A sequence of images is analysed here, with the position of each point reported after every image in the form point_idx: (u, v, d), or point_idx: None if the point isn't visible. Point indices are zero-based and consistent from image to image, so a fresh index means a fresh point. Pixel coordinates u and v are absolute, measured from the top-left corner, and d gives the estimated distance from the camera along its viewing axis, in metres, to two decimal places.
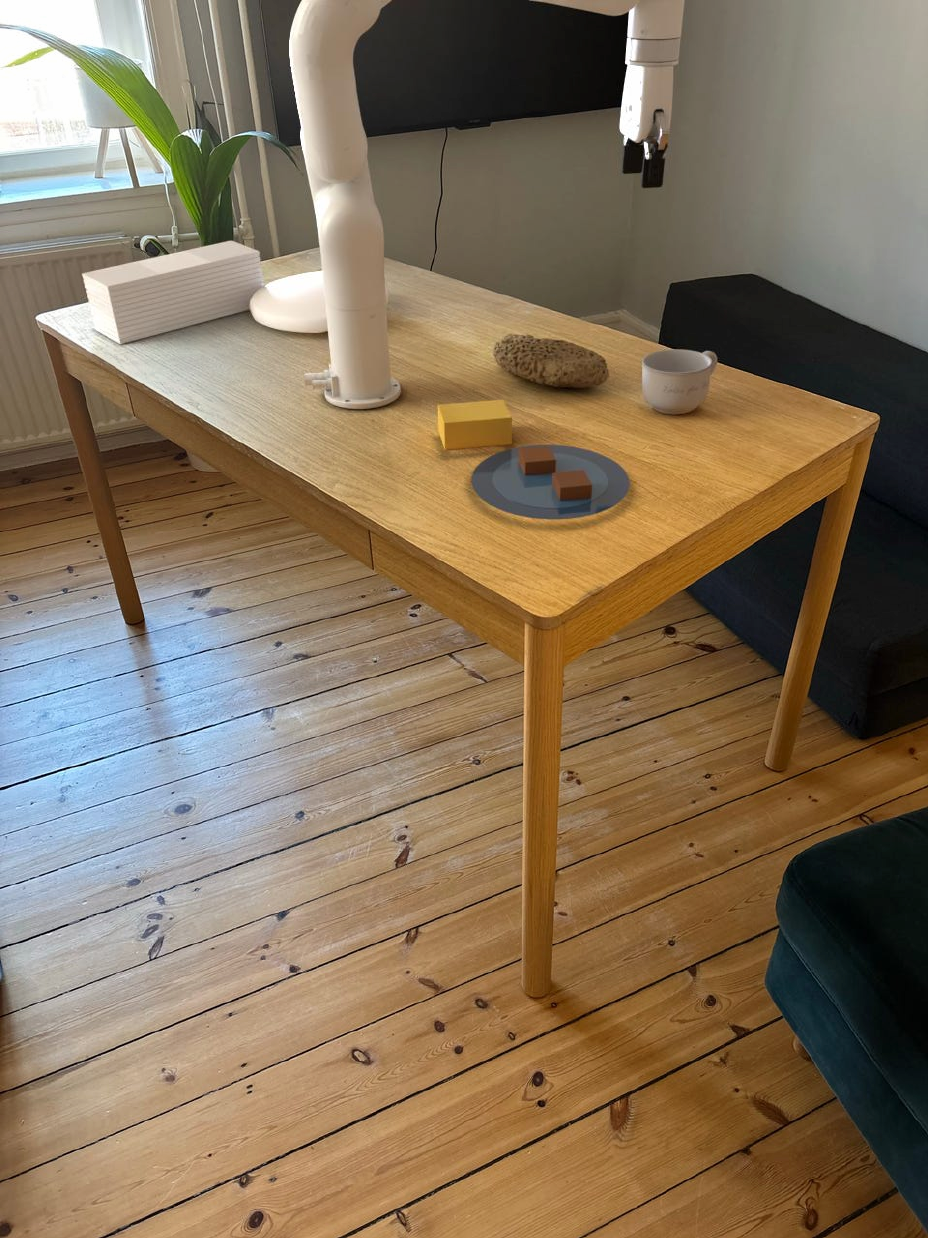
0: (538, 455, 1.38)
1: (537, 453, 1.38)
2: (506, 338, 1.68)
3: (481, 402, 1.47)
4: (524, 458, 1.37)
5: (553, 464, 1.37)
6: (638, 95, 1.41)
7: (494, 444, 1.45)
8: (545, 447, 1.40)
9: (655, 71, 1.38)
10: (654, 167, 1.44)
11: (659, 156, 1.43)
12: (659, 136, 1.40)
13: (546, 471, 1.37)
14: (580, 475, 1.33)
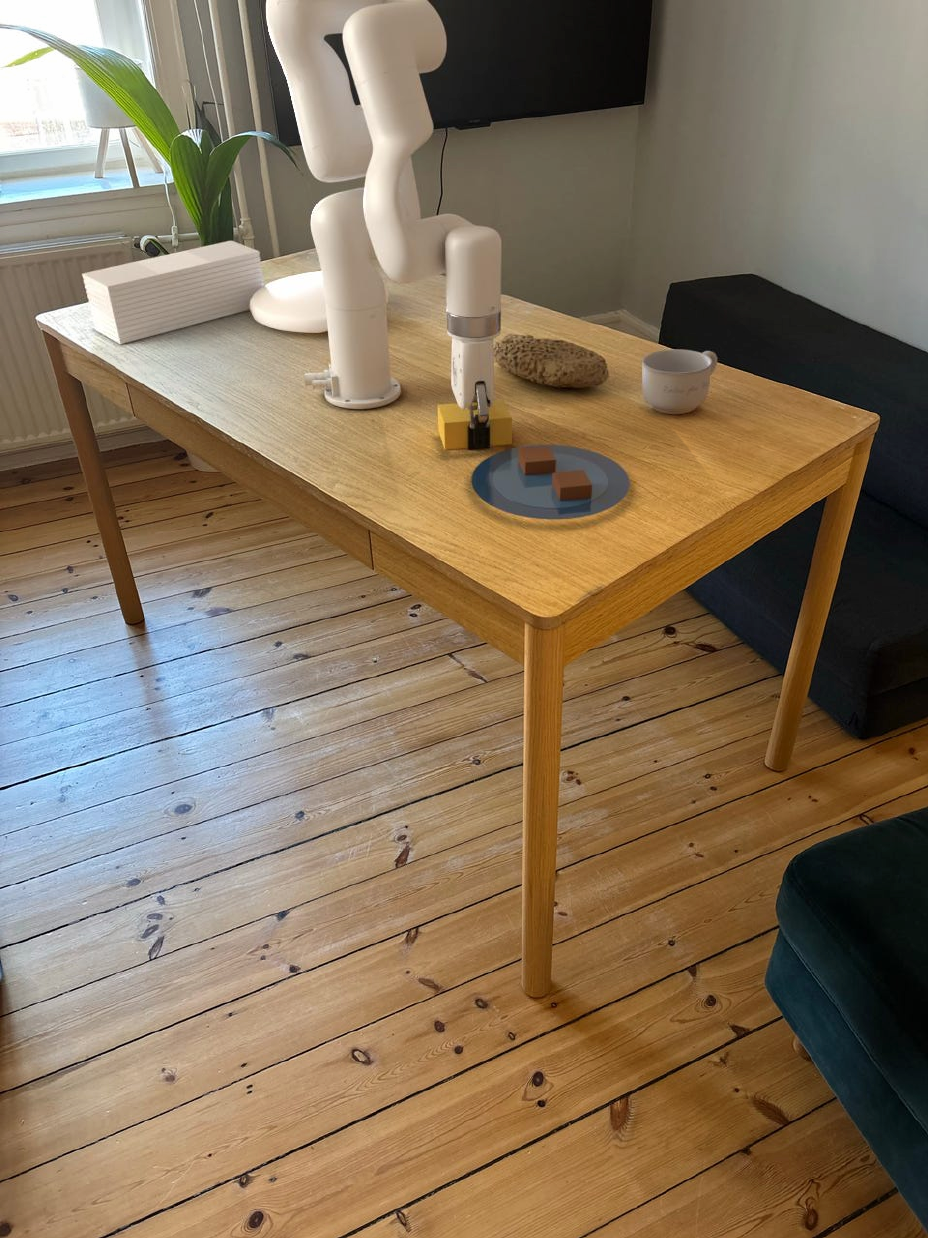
0: (538, 455, 1.38)
1: (537, 453, 1.38)
2: (506, 338, 1.68)
3: None
4: (524, 458, 1.37)
5: (553, 464, 1.37)
6: (459, 366, 1.37)
7: (494, 444, 1.45)
8: (545, 447, 1.40)
9: (473, 347, 1.34)
10: (479, 435, 1.42)
11: (482, 426, 1.41)
12: (478, 414, 1.37)
13: (546, 471, 1.37)
14: (580, 475, 1.33)
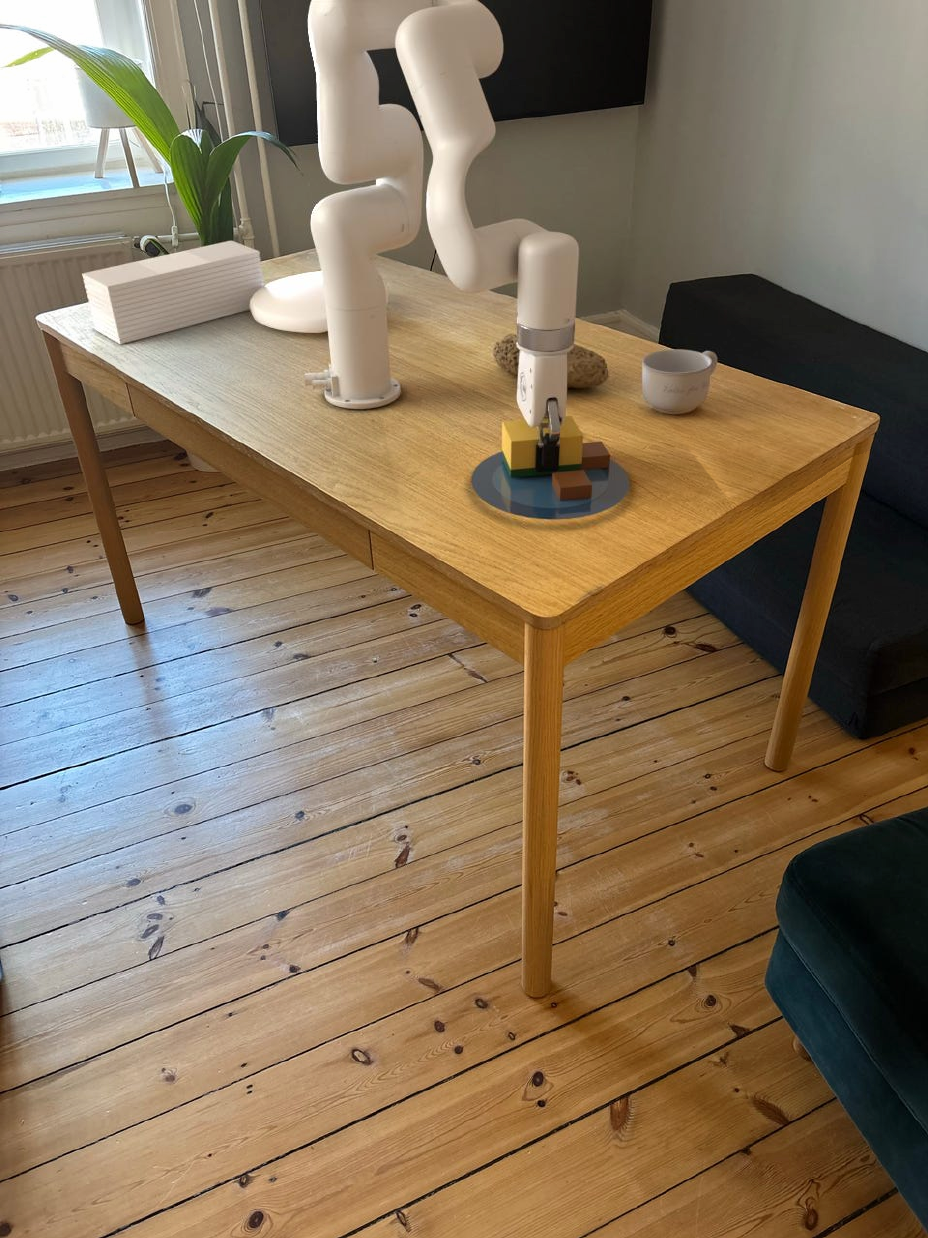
0: (592, 450, 1.39)
1: (591, 448, 1.39)
2: (506, 338, 1.68)
3: None
4: None
5: (607, 459, 1.38)
6: (529, 382, 1.28)
7: (563, 464, 1.36)
8: (598, 442, 1.40)
9: (546, 361, 1.25)
10: (548, 454, 1.33)
11: (552, 445, 1.32)
12: (550, 433, 1.29)
13: (600, 466, 1.38)
14: (580, 475, 1.33)
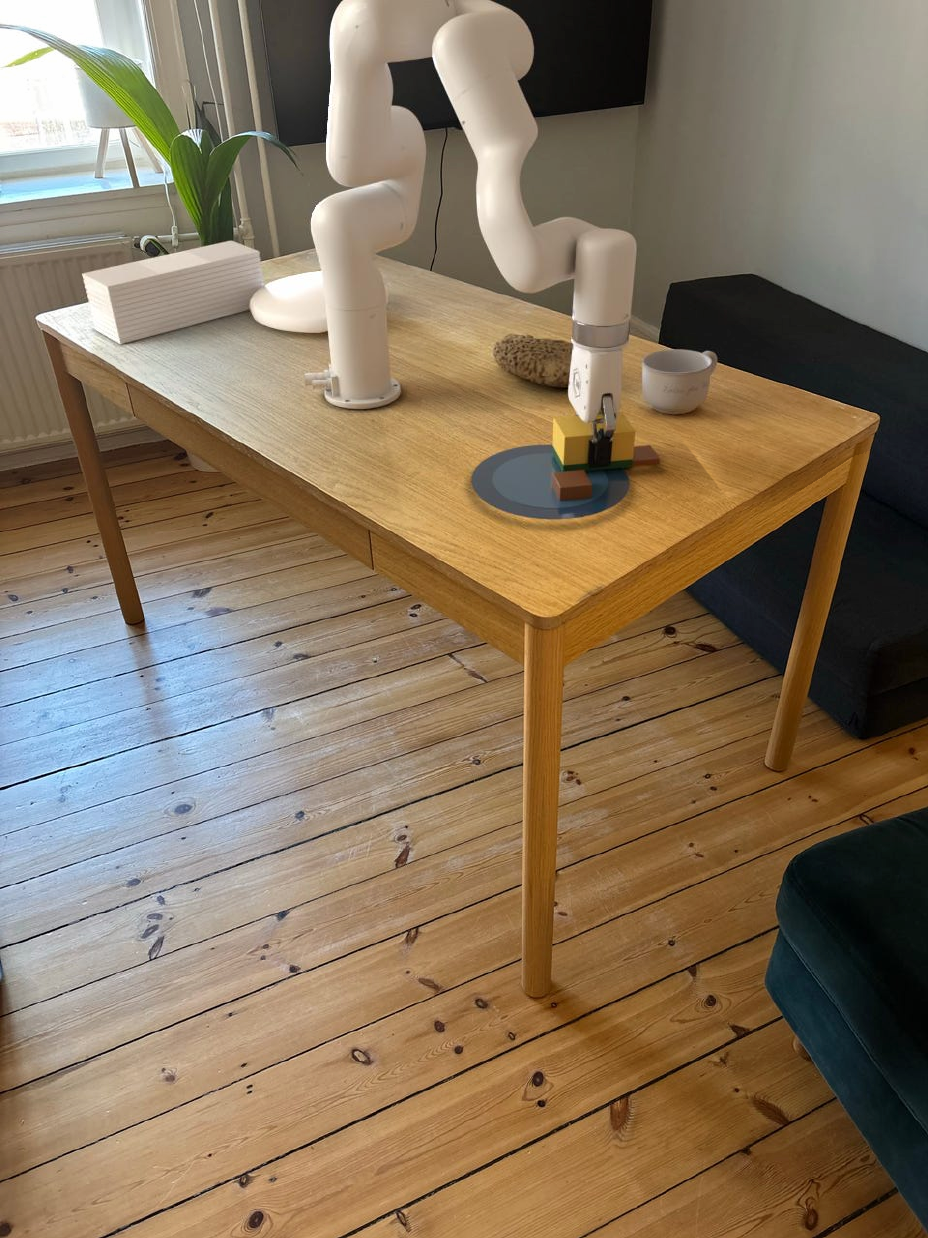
0: (641, 453, 1.40)
1: (641, 452, 1.41)
2: (506, 338, 1.68)
3: (600, 414, 1.39)
4: None
5: (657, 463, 1.39)
6: (585, 378, 1.29)
7: (615, 459, 1.37)
8: (647, 446, 1.42)
9: (602, 357, 1.26)
10: (601, 449, 1.34)
11: (605, 441, 1.33)
12: (605, 429, 1.29)
13: None
14: (580, 475, 1.33)
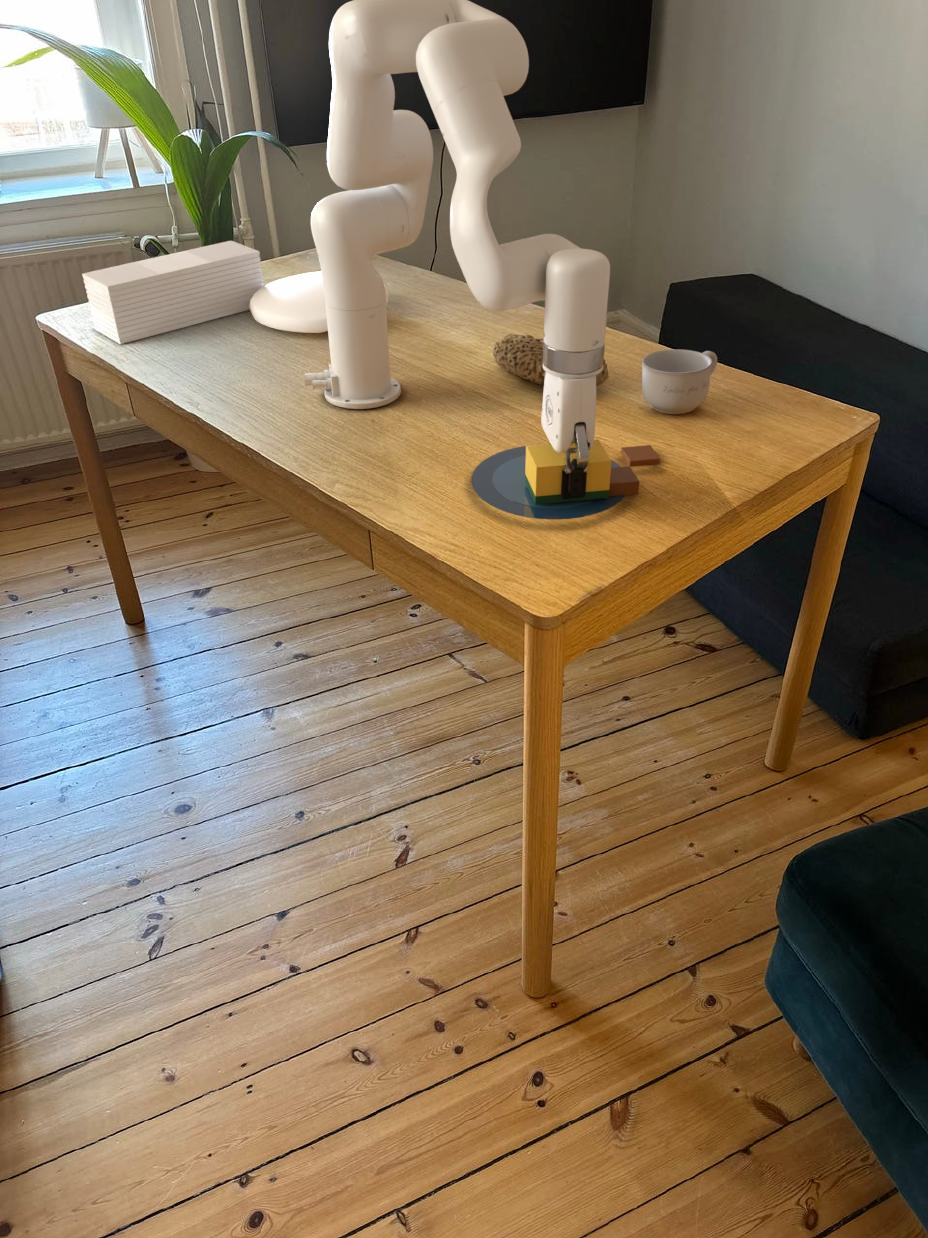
0: (641, 453, 1.40)
1: (641, 452, 1.41)
2: (506, 338, 1.68)
3: None
4: (628, 457, 1.39)
5: (657, 463, 1.39)
6: (556, 406, 1.22)
7: (590, 490, 1.30)
8: (647, 446, 1.42)
9: (574, 384, 1.19)
10: (575, 480, 1.27)
11: (579, 471, 1.26)
12: (578, 460, 1.22)
13: None
14: (627, 471, 1.33)
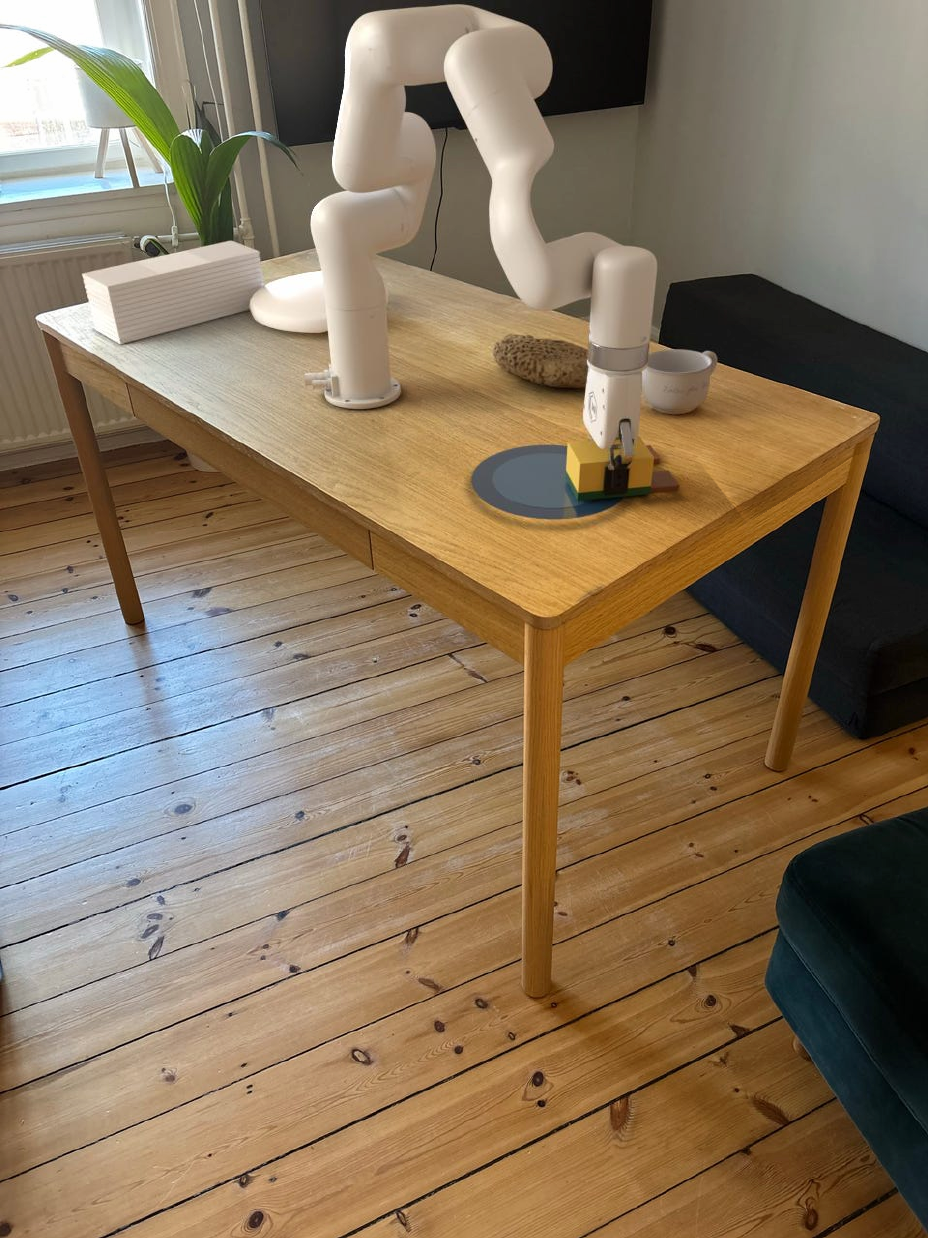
0: None
1: None
2: (506, 338, 1.68)
3: None
4: None
5: (657, 463, 1.39)
6: (601, 402, 1.22)
7: (632, 486, 1.30)
8: (647, 446, 1.42)
9: (620, 381, 1.20)
10: (618, 477, 1.28)
11: (623, 468, 1.26)
12: (622, 456, 1.23)
13: None
14: (666, 475, 1.35)
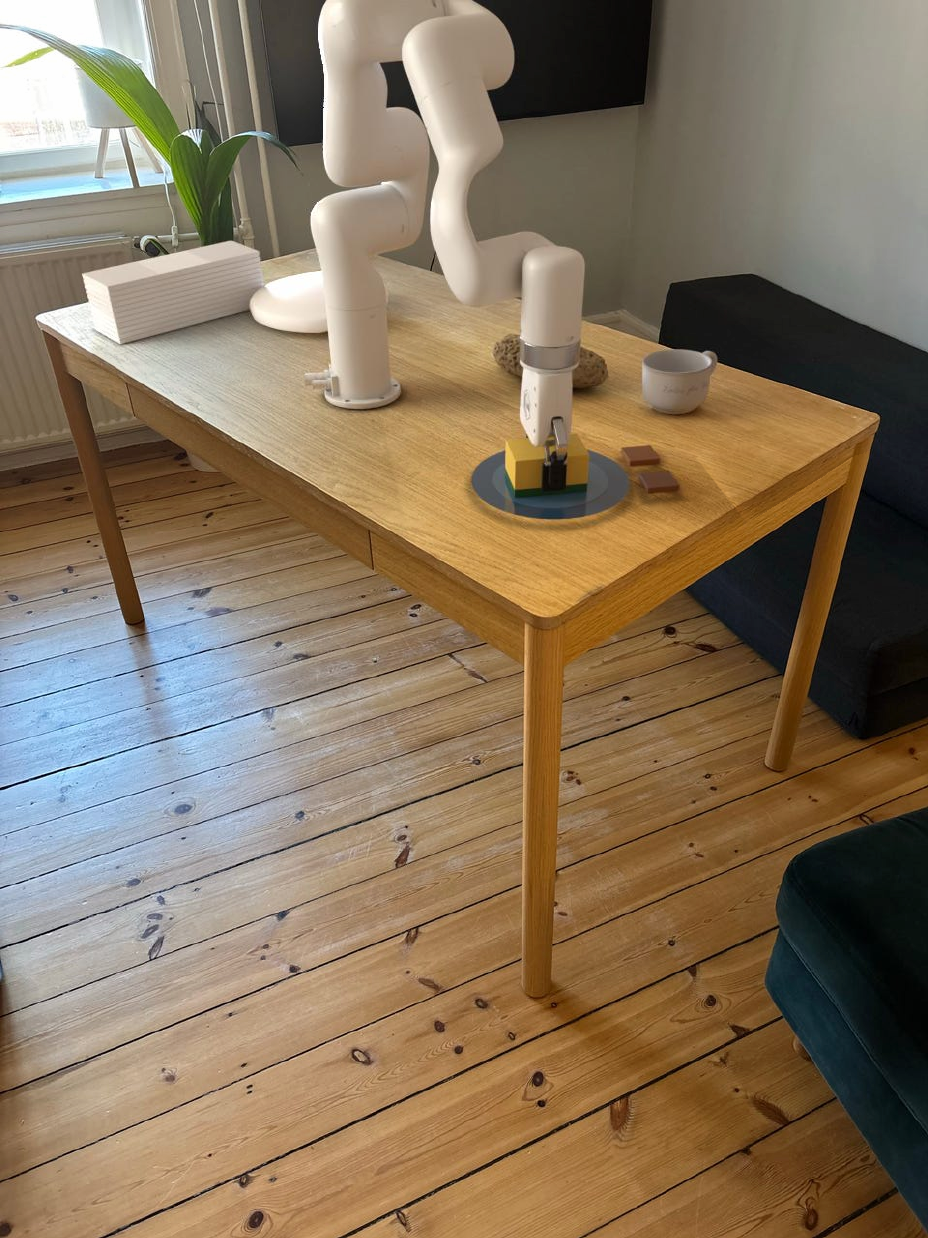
0: (641, 453, 1.40)
1: (641, 452, 1.41)
2: (506, 338, 1.68)
3: None
4: (628, 457, 1.39)
5: (657, 463, 1.39)
6: (533, 400, 1.24)
7: (568, 483, 1.32)
8: (647, 446, 1.42)
9: (551, 379, 1.21)
10: (555, 473, 1.28)
11: (559, 464, 1.27)
12: (557, 449, 1.23)
13: None
14: (666, 475, 1.35)
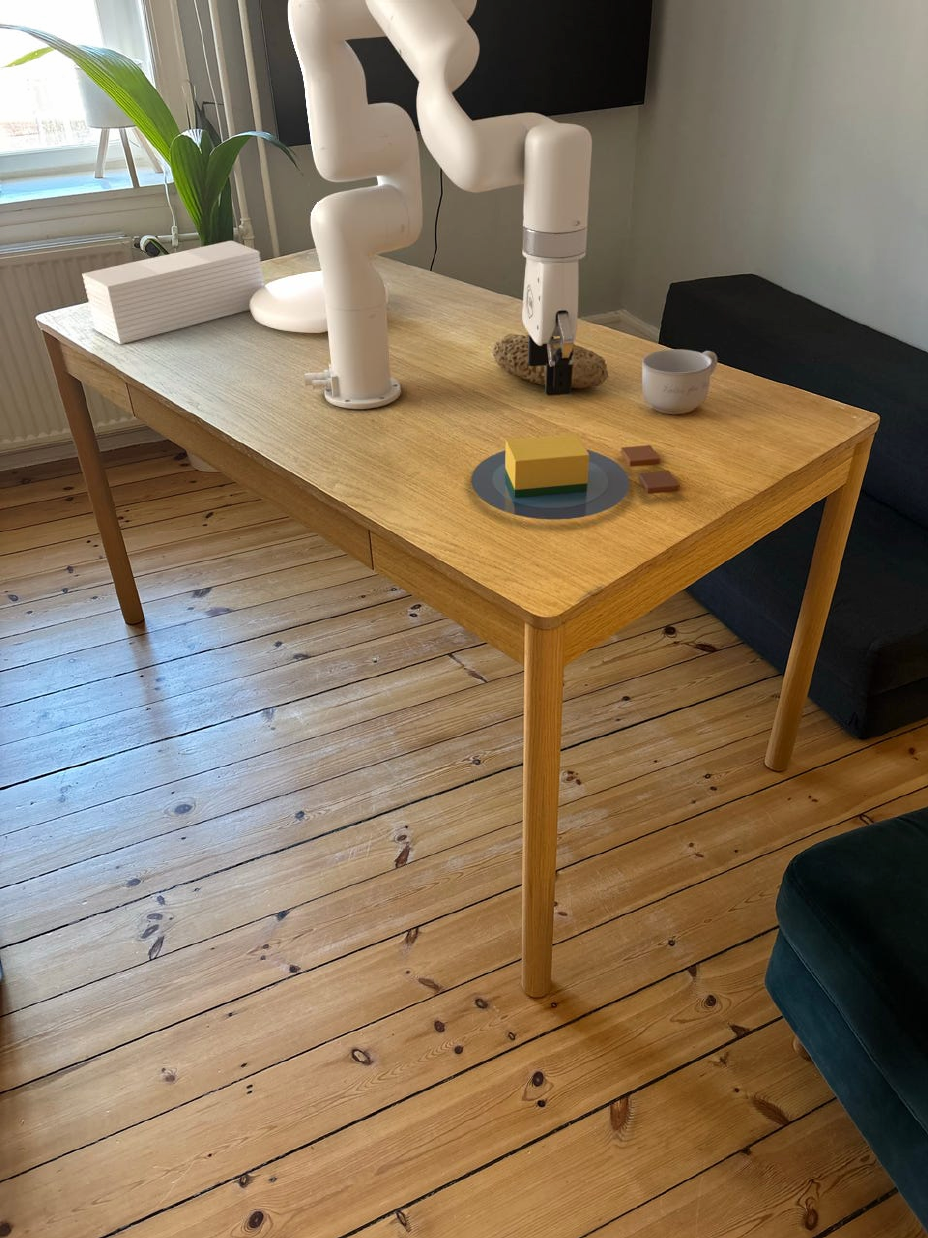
0: (641, 453, 1.40)
1: (641, 452, 1.41)
2: (506, 338, 1.68)
3: (553, 436, 1.34)
4: (628, 457, 1.39)
5: (657, 463, 1.39)
6: (537, 294, 1.16)
7: (568, 483, 1.32)
8: (647, 446, 1.42)
9: (555, 269, 1.14)
10: (559, 374, 1.20)
11: (564, 363, 1.19)
12: (562, 344, 1.15)
13: None
14: (666, 475, 1.35)
